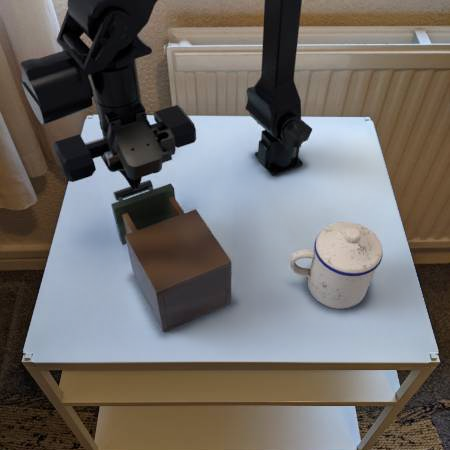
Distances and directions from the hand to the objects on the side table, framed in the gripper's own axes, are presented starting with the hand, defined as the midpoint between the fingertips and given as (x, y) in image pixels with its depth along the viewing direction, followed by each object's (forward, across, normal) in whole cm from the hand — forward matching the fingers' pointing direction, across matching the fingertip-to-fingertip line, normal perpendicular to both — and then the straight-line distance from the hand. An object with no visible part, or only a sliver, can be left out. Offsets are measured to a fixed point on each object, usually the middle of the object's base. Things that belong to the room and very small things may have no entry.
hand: (134, 188), depth 75 cm
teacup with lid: (+8, +20, -24) cm, 32 cm away
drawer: (+6, 0, -5) cm, 8 cm away
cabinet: (+7, 0, -15) cm, 17 cm away
